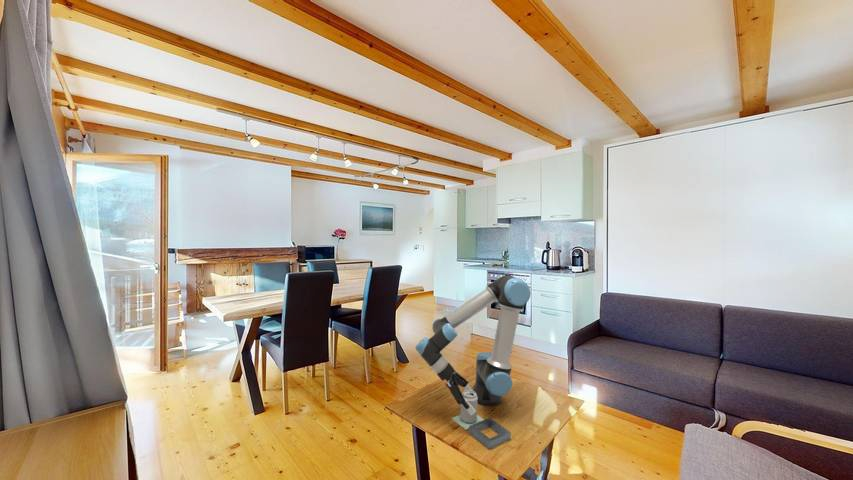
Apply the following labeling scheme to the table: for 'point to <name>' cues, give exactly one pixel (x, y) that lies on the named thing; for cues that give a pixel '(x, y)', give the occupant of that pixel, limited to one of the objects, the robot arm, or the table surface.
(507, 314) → the robot arm
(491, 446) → the holder
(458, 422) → the mat
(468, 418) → the can
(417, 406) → the table surface
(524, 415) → the table surface
